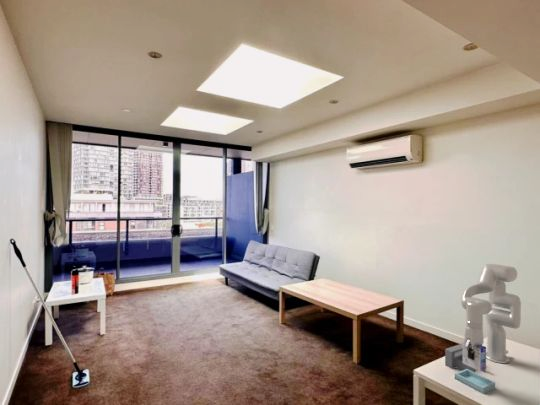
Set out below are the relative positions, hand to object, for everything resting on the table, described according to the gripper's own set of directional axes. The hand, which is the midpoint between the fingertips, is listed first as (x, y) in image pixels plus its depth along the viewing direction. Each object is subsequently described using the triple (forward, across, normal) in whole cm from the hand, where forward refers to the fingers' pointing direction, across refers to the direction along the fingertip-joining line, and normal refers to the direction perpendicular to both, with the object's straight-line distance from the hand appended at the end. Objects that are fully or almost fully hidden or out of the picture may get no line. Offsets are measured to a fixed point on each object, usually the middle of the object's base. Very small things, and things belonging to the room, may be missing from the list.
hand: (474, 357), depth 167 cm
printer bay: (+14, -12, -11) cm, 22 cm away
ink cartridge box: (+5, 0, 0) cm, 5 cm away
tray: (+14, 0, 0) cm, 14 cm away
